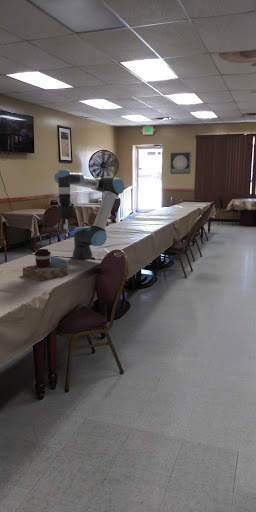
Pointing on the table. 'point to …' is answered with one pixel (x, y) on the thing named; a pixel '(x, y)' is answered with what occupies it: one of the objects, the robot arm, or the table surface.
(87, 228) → the robot arm
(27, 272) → the brown wooden frame
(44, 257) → the coffee cup
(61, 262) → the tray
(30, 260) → the table surface
